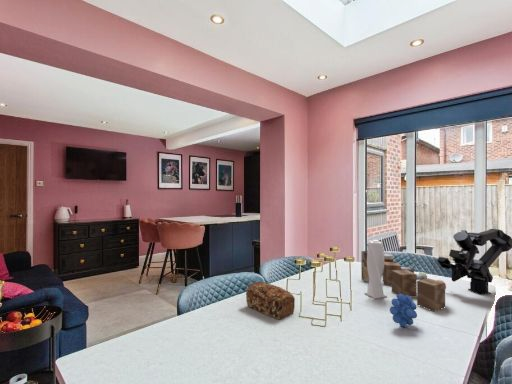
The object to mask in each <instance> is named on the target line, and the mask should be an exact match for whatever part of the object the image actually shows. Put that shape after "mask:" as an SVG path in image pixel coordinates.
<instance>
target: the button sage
mask: <svg viewBox="0 0 512 384" xmlns="http://www.w3.org/2000/svg"><path fill="white" fill-rule="evenodd" d="M423 279H428V275H427V273H425V271H424V272H423V271H421V272H418V274H417V281H419V280H423Z"/></svg>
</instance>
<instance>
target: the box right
mask: <svg viewBox="0 0 512 384" xmlns="http://www.w3.org/2000/svg"><path fill="white" fill-rule="evenodd" d="M436 280H437V279H433V278H428V277H427V279H423V280H417V298H416V301H417V302H416V303H417V304H416V306H418V305H420V306H419V307H421V306H422V307H421V308H424V307H425V308H424V309H426V308H427V309H426V310H429V309H430V310H429V311H432V310H433V311H432V312H436V311H439V310H438V309H440V310H442V309H441V308H443V309H445V308H446V289H445V284H446V282H444V281H443V282H440V281H436ZM444 307H445V308H444ZM435 310H436V311H435Z"/></svg>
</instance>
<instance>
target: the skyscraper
mask: <svg viewBox="0 0 512 384" xmlns="http://www.w3.org/2000/svg"><path fill="white" fill-rule="evenodd" d="M383 246H384V245H383V238H382V237H380V241H379V239H372V240H370V239H368V244H367V250H366V251H367V269H368V275H369V279H370V280H369V283H368V286H367V292H365V293H364V295H365V296H368V297H370V298H372V299H374V300H381V299H386V298H388V296H387V295H385V294H384V288H383V284H382V279H383V275H382V274H383V269H384V253H385V252H384V247H383Z"/></svg>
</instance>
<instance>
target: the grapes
mask: <svg viewBox="0 0 512 384" xmlns="http://www.w3.org/2000/svg"><path fill="white" fill-rule="evenodd" d="M390 303H391V305H392V306H390V308H389V313H390V314H391V315H392V321H393V322H394V323H395V324H398V325H399V326H400V327H402V328H406V327H407V326H412V325H413V324H414V320H413V319H417V317H418V314H417V311H415V310H417V308H418V307H417V306H418V305H417V304H416V303H415V302H414V301H413V299H412V297H410V296H408V295H406V296H404V295H402V294H398V295H396V298H395V297H394V298H392V299H391V302H390Z"/></svg>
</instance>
